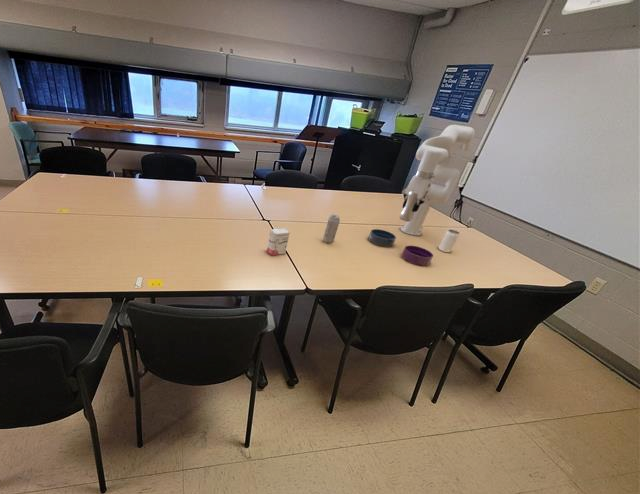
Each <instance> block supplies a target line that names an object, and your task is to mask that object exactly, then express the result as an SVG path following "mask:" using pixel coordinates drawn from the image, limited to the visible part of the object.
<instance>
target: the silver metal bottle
mask: <svg viewBox="0 0 640 494" xmlns="http://www.w3.org/2000/svg"><path fill="white" fill-rule="evenodd" d="M417 196H418V195H417V192H416V191H415V190H412V191H410V192H409V195H408V199H407V202H406V205H405V207H404V208H403V209H402V211H401V212H400V214H399V219H400V220H401V221H404V222H406V221H408V222H409V221H411V220H412V219H413V217H414V212H413V208H414V206H415V204H417Z"/></svg>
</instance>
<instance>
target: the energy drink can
mask: <svg viewBox="0 0 640 494" xmlns="http://www.w3.org/2000/svg"><path fill="white" fill-rule="evenodd" d="M340 218H341V217H340V215H337V214H331V215H330V216H329V217H328V219H327V223H326V227H325V230H324V234H323V238H322V240H323V242H324V243H326V244H333V242H334V241H335V238H336V235H337V231H338V228H339V225H340V221H341V220H340Z"/></svg>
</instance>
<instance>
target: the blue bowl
mask: <svg viewBox="0 0 640 494" xmlns="http://www.w3.org/2000/svg"><path fill="white" fill-rule="evenodd" d="M396 239H397V236H396V235H395V234H394V233H393V232H390V231H388V230H384V229H379V228H376V229H375V228H374V229H371V230H370V232H369V235H368V238H367V240H368V241H369V242H371V243H372V244H375V245H377V246H380V247H387V248H388V247H392V246H394V244H395V242H396Z"/></svg>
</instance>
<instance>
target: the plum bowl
mask: <svg viewBox="0 0 640 494" xmlns="http://www.w3.org/2000/svg"><path fill="white" fill-rule="evenodd" d="M401 257H402V258H403V260H405V261H407V262H409V263H411V264H414V265H418V266H429V265H430V263H431V262H432V259H433V258H434V253H432V252H431V251H430V250H428V249H426V248H423V247H422V246H421V247H420V246H417V245H405V246H404V247H403V250H402V253H401Z"/></svg>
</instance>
